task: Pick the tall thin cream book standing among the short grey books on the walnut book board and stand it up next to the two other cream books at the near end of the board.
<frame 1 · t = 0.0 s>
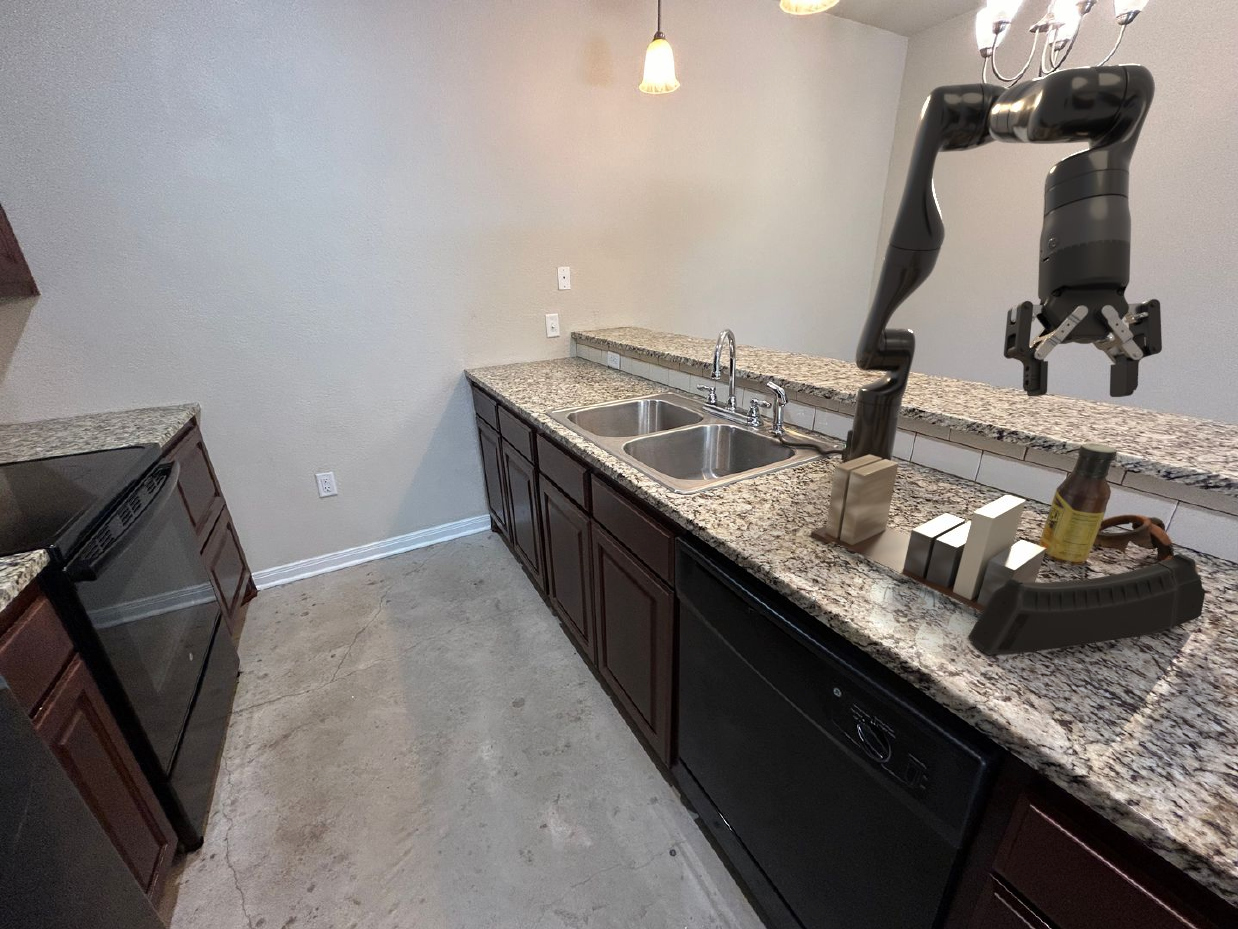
hand: (1078, 396, 56), 31 cm above the countertop, tool tilted 20°, fingers open, 8 cm apart
book board: (915, 563, 81), on the countertop
magazine: (1079, 642, 64), on the countertop
sauce bottle: (1059, 561, 82), on the countertop
cream book: (978, 584, 74), point 1 cm above the countertop, touching book board
rusty ring bracket: (1130, 557, 82), on the countertop
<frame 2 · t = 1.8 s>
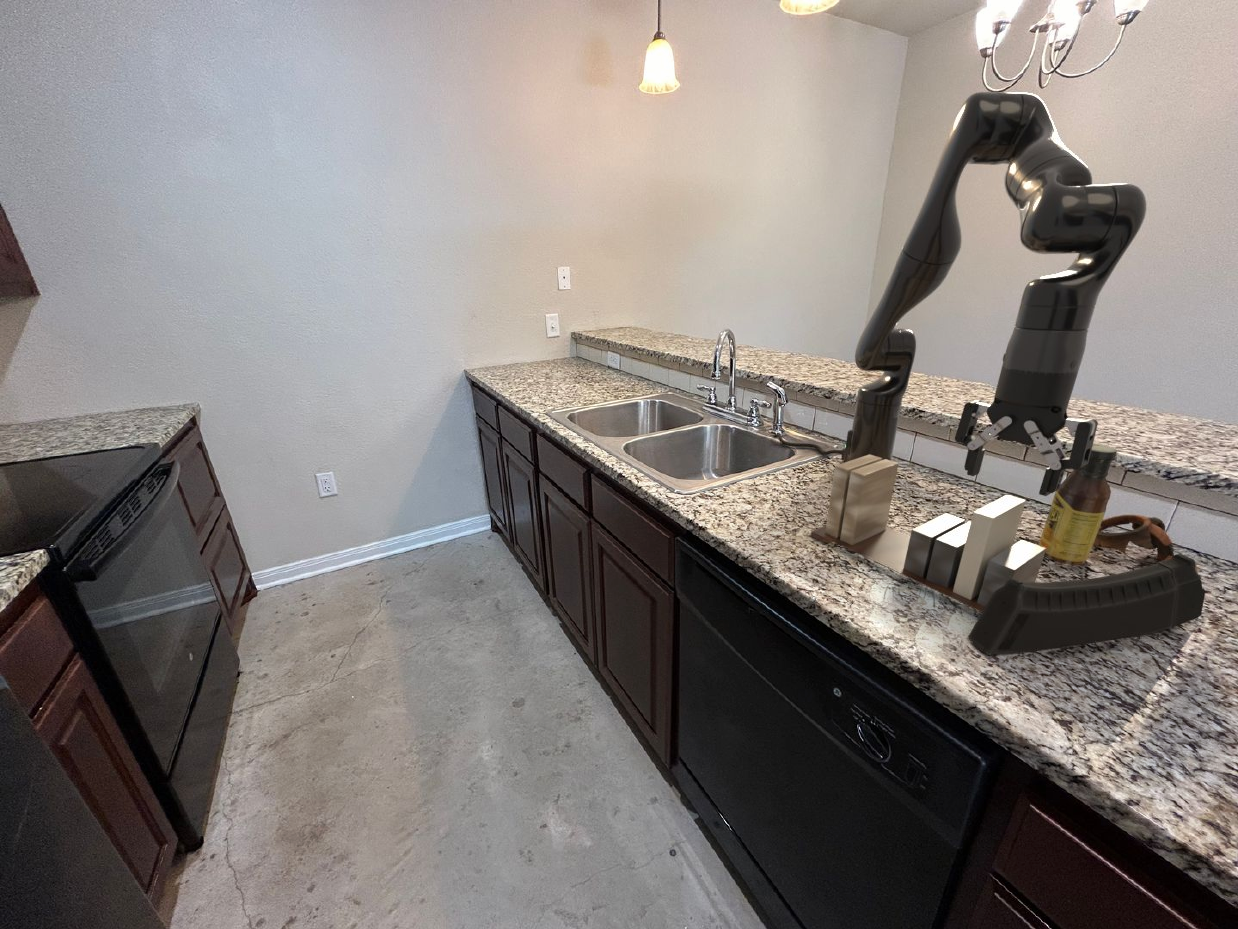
hand: (1006, 483, 68), 17 cm above the countertop, tool pointing down, fingers open, 8 cm apart
nothing on the countertop moved.
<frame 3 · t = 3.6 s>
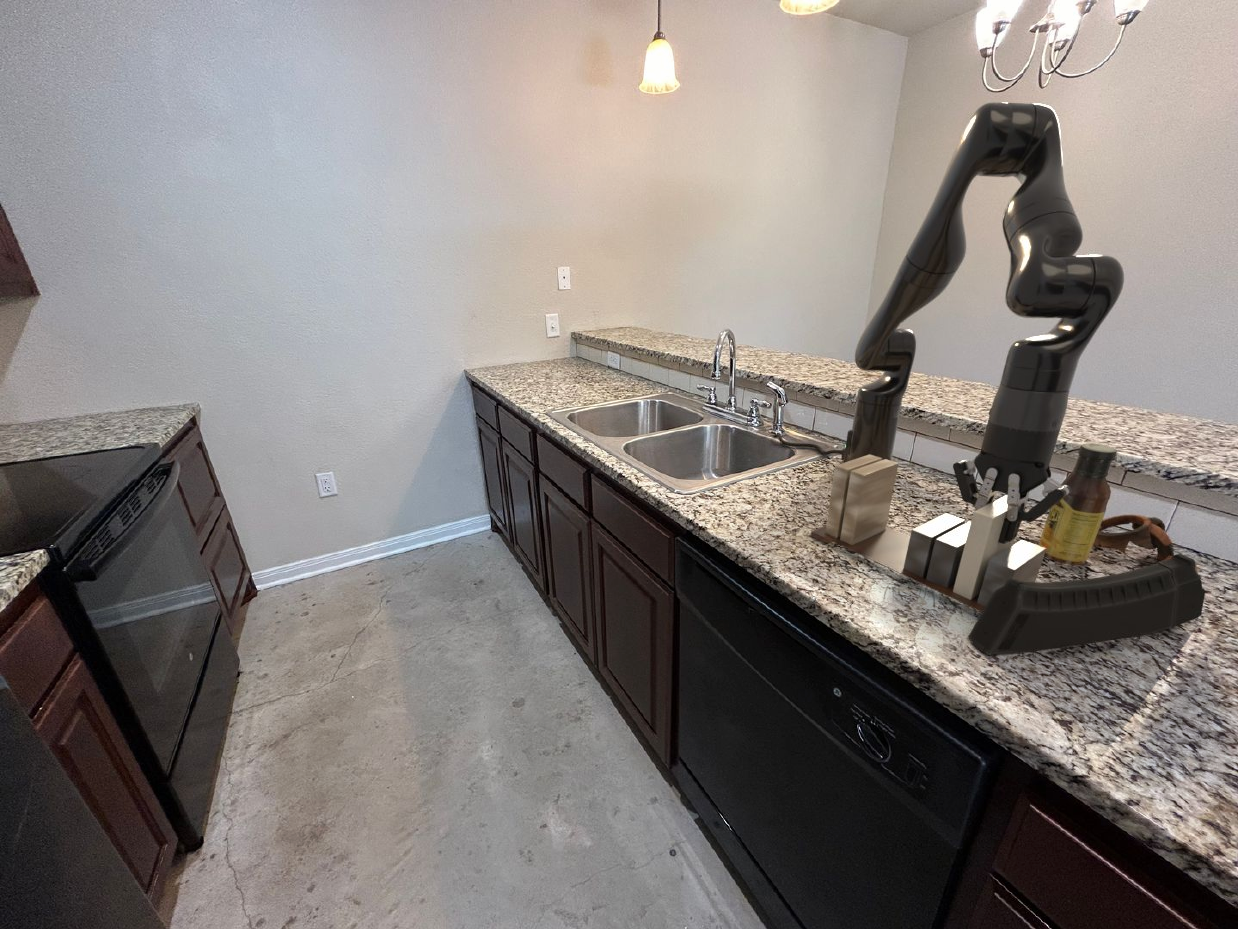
hand: (991, 536, 71), 9 cm above the countertop, tool pointing down, fingers closed on cream book, 2 cm apart
cream book: (978, 584, 74), point 1 cm above the countertop, touching book board, gripper
everything else where it was.
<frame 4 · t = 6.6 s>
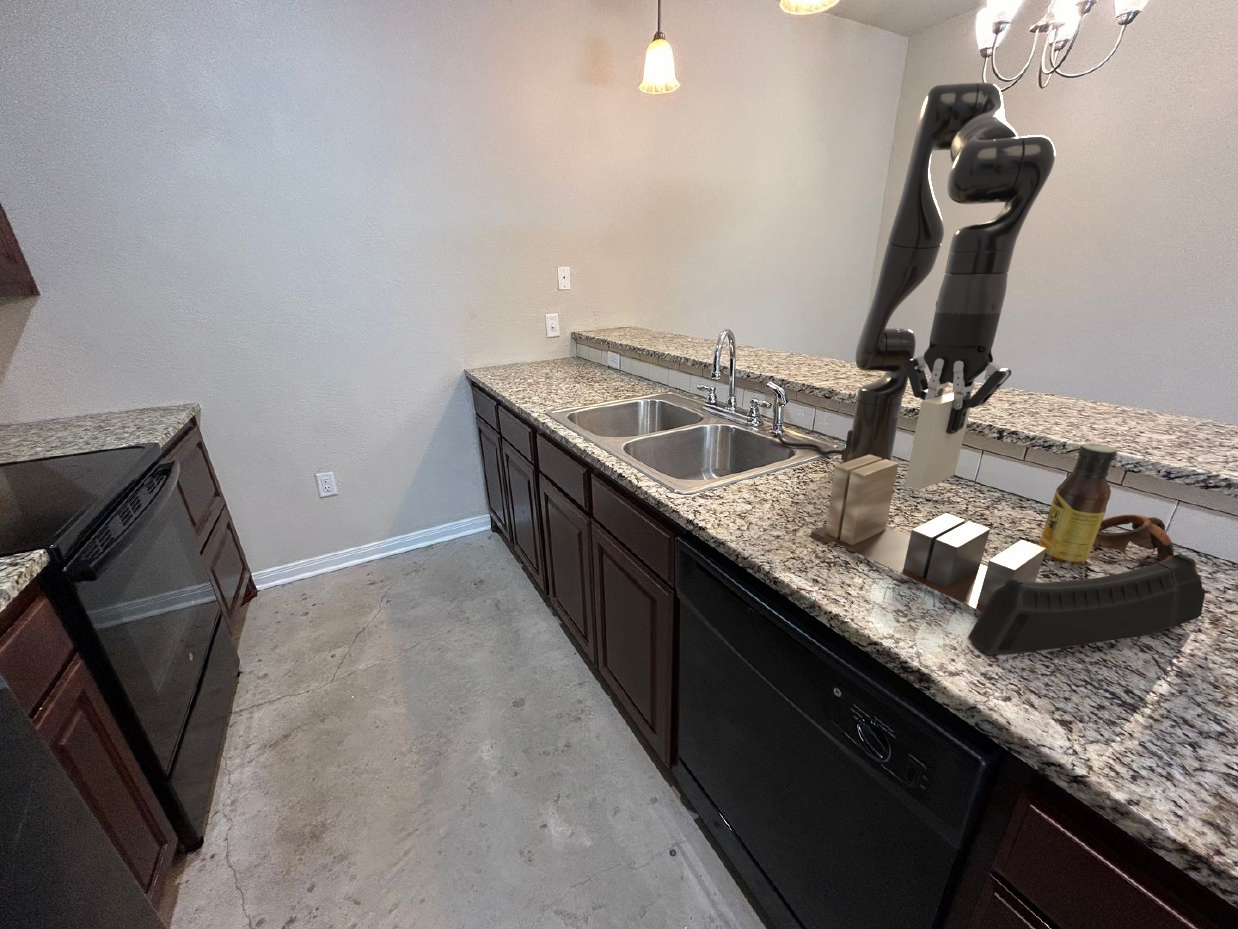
hand: (940, 429, 74), 23 cm above the countertop, tool pointing down, fingers closed on cream book, 2 cm apart
cream book: (929, 479, 77), point 15 cm above the countertop, touching gripper
everything else where it was.
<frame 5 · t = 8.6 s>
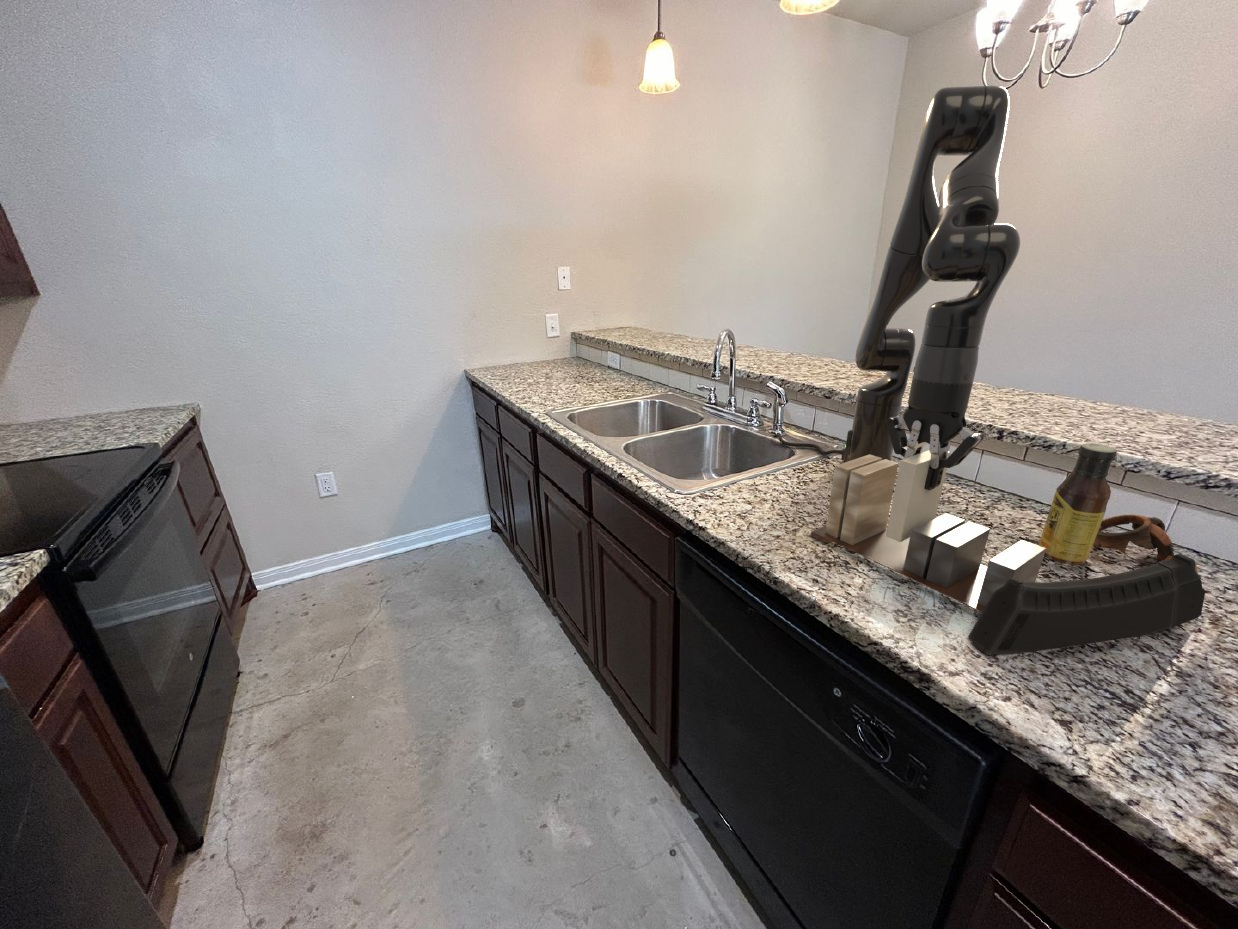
hand: (919, 485, 78), 13 cm above the countertop, tool pointing down, fingers closed on cream book, 2 cm apart
cream book: (910, 530, 81), point 5 cm above the countertop, touching gripper
everything else where it was.
when the fingers open (9 cm above the countertop, at t = 9.9 s): cream book stays where it is, resting on book board.
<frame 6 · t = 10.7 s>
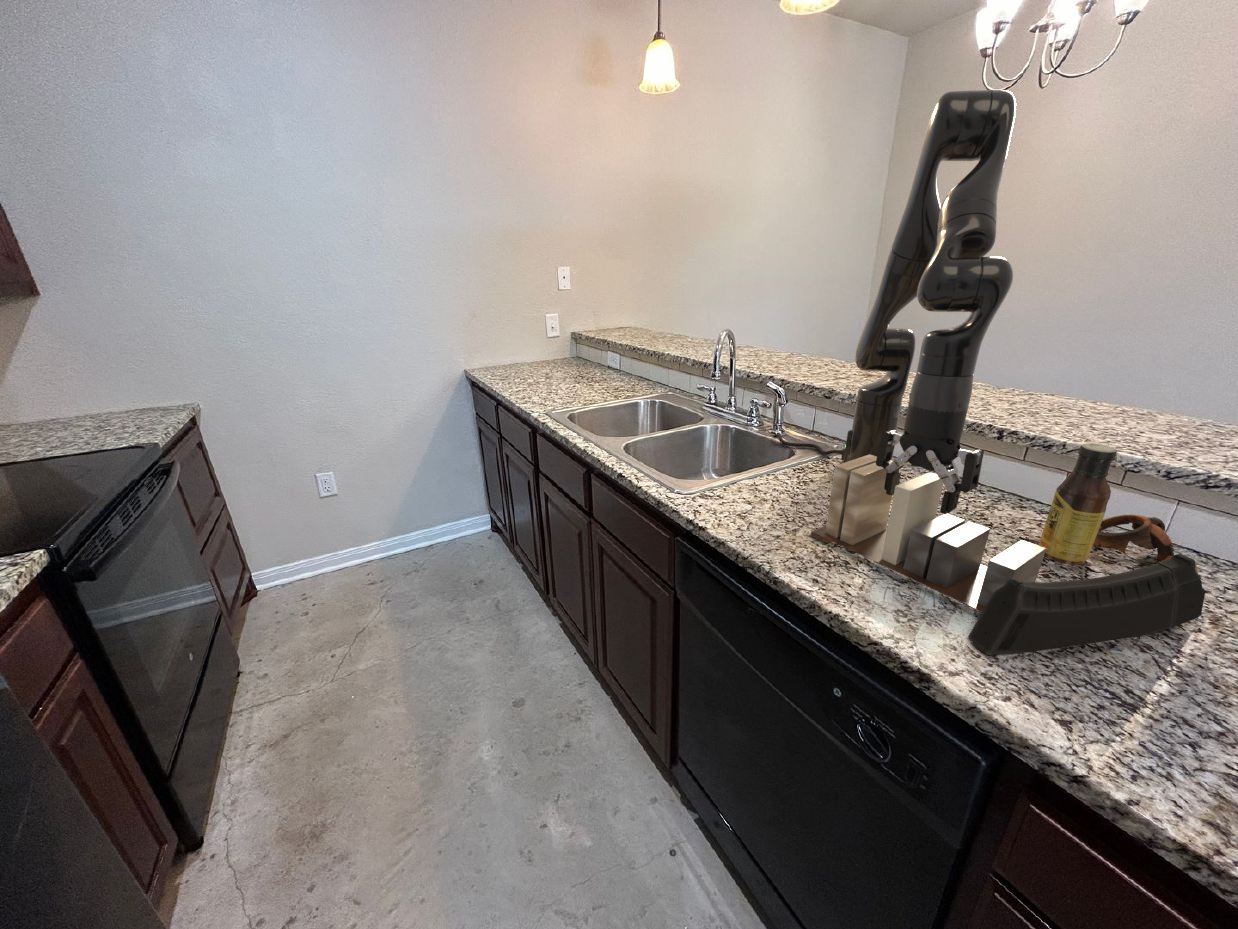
hand: (917, 502, 79), 10 cm above the countertop, tool pointing down, fingers open, 8 cm apart
cream book: (905, 553, 83), point 1 cm above the countertop, touching book board
everything else where it was.
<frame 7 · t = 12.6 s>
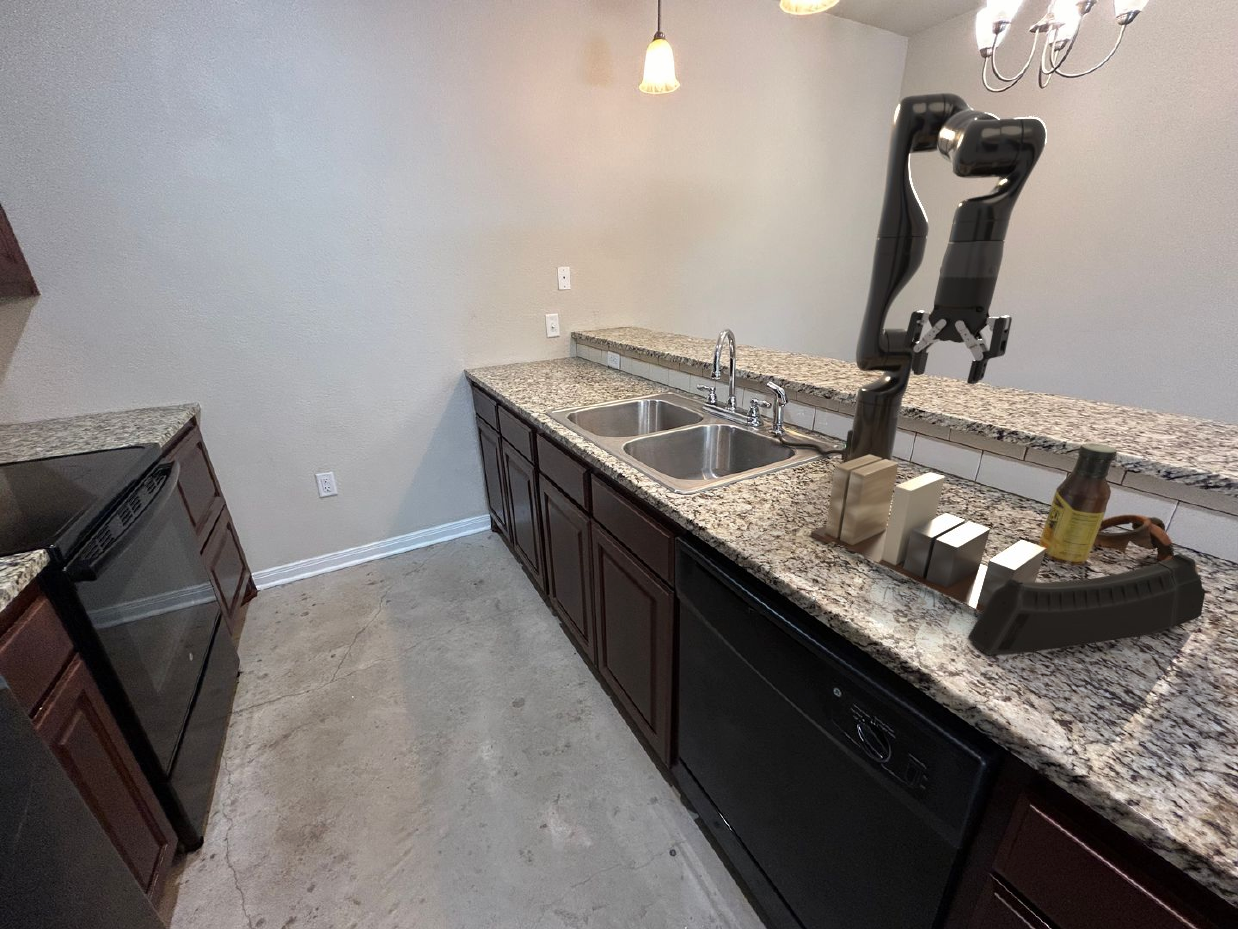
hand: (944, 378, 82), 28 cm above the countertop, tool pointing down, fingers open, 8 cm apart
nothing on the countertop moved.
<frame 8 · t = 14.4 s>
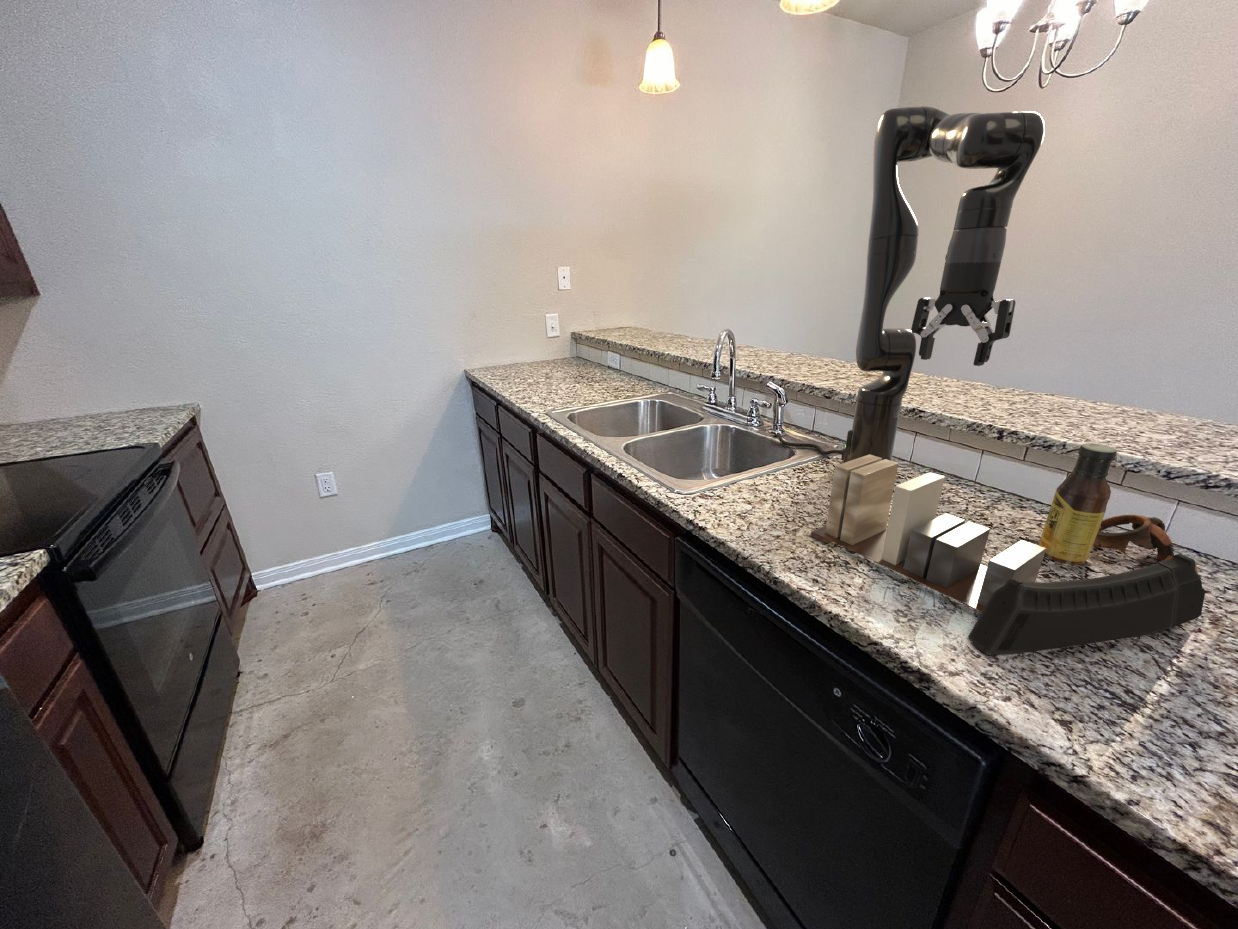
hand: (950, 362, 85), 30 cm above the countertop, tool pointing down, fingers open, 8 cm apart
nothing on the countertop moved.
at the end: cream book 0.1 cm from the target spot, point 1.0 cm above the countertop; cream book tilted 0°; the gripper is holding nothing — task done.
